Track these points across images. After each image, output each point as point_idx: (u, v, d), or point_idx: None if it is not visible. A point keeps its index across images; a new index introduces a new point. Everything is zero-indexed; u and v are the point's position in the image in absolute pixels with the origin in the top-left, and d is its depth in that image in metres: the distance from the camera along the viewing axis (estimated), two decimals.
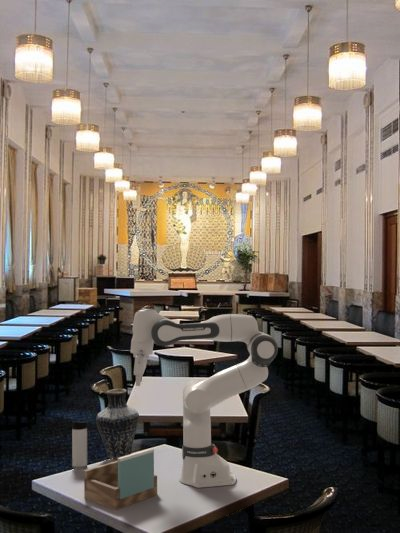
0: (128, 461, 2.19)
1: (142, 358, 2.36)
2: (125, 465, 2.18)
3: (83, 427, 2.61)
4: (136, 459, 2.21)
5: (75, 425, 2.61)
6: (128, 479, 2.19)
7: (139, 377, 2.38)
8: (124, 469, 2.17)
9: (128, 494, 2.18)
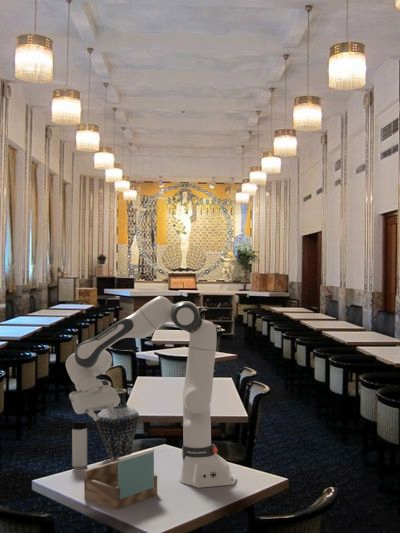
0: (128, 461, 2.19)
1: (74, 396, 2.33)
2: (125, 465, 2.18)
3: (83, 427, 2.61)
4: (136, 459, 2.21)
5: (75, 425, 2.61)
6: (128, 479, 2.19)
7: (89, 412, 2.32)
8: (124, 469, 2.17)
9: (128, 494, 2.18)
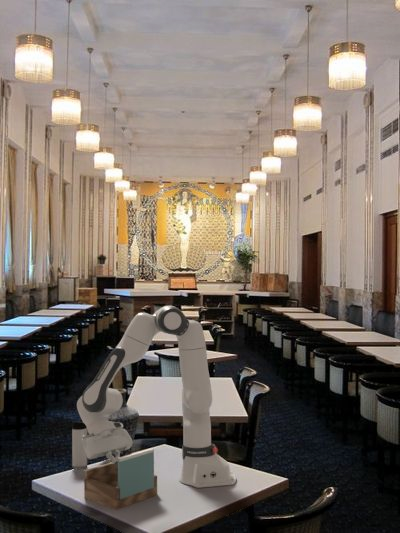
0: (128, 461, 2.19)
1: (86, 440, 2.28)
2: (125, 465, 2.18)
3: (83, 427, 2.61)
4: (136, 459, 2.21)
5: (75, 425, 2.61)
6: (128, 479, 2.19)
7: (108, 455, 2.29)
8: (124, 469, 2.17)
9: (128, 494, 2.18)
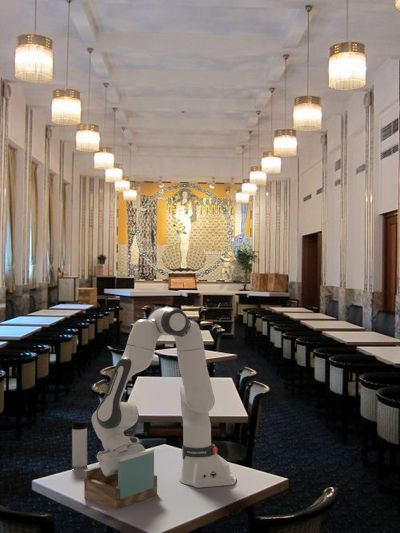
0: (128, 461, 2.19)
1: (102, 456, 2.21)
2: (125, 465, 2.18)
3: (83, 427, 2.61)
4: (136, 459, 2.21)
5: (75, 425, 2.61)
6: (128, 479, 2.18)
7: None
8: (124, 469, 2.17)
9: (128, 494, 2.18)
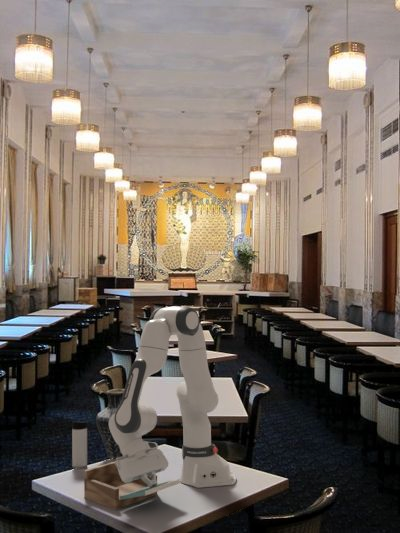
0: None
1: (120, 462, 2.14)
2: None
3: (83, 427, 2.61)
4: None
5: (75, 425, 2.61)
6: None
7: (144, 478, 2.15)
8: None
9: None
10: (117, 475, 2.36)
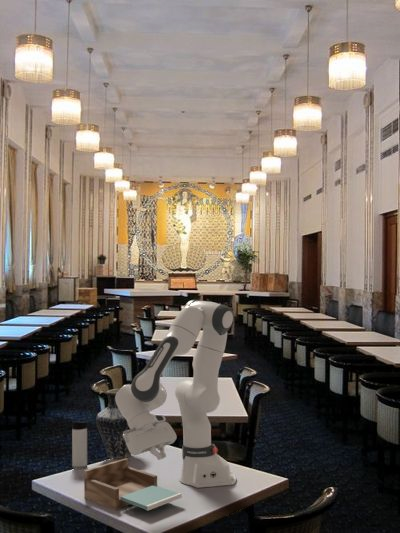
0: None
1: (128, 435, 2.12)
2: None
3: (83, 427, 2.61)
4: None
5: (75, 425, 2.61)
6: None
7: (152, 450, 2.13)
8: None
9: None
10: (117, 475, 2.36)
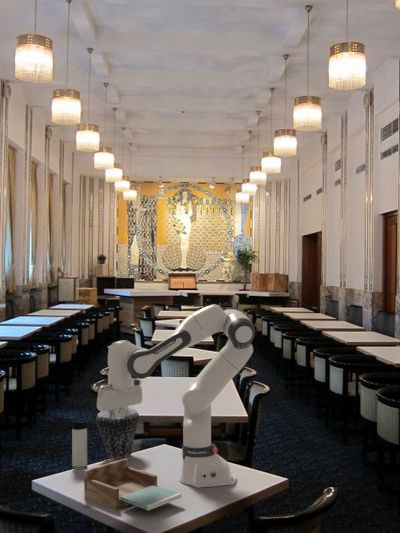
0: None
1: (102, 393, 2.29)
2: None
3: (83, 427, 2.61)
4: None
5: (75, 425, 2.61)
6: None
7: (115, 410, 2.34)
8: None
9: None
10: (117, 475, 2.36)
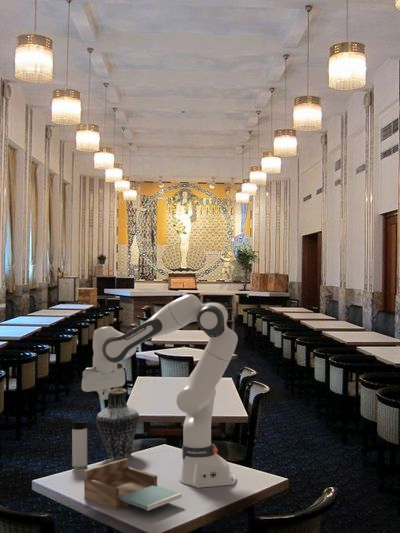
0: None
1: (87, 374, 2.45)
2: None
3: (83, 427, 2.61)
4: None
5: (75, 425, 2.61)
6: None
7: (99, 391, 2.50)
8: None
9: None
10: (117, 475, 2.36)
